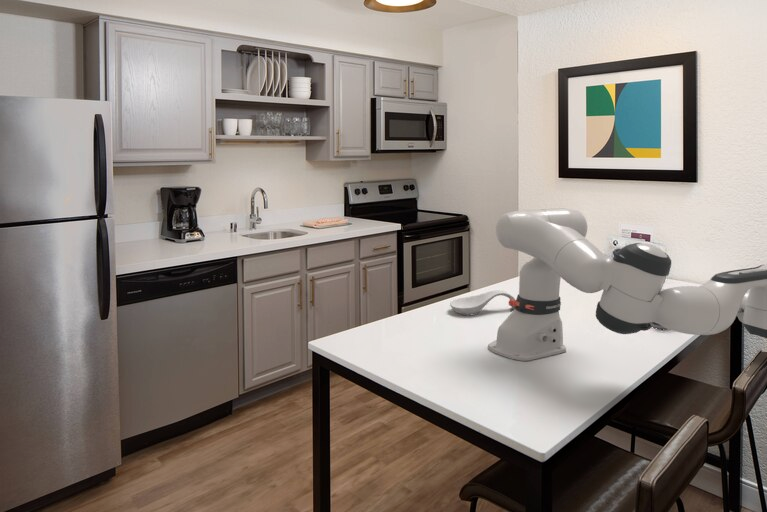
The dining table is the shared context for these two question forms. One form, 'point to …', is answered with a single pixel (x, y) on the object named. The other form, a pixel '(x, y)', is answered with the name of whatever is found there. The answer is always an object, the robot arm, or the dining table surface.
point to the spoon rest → (476, 302)
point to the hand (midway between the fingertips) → (703, 296)
